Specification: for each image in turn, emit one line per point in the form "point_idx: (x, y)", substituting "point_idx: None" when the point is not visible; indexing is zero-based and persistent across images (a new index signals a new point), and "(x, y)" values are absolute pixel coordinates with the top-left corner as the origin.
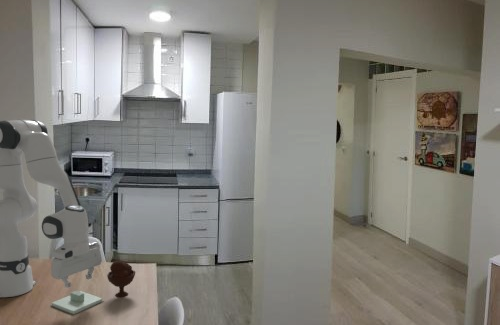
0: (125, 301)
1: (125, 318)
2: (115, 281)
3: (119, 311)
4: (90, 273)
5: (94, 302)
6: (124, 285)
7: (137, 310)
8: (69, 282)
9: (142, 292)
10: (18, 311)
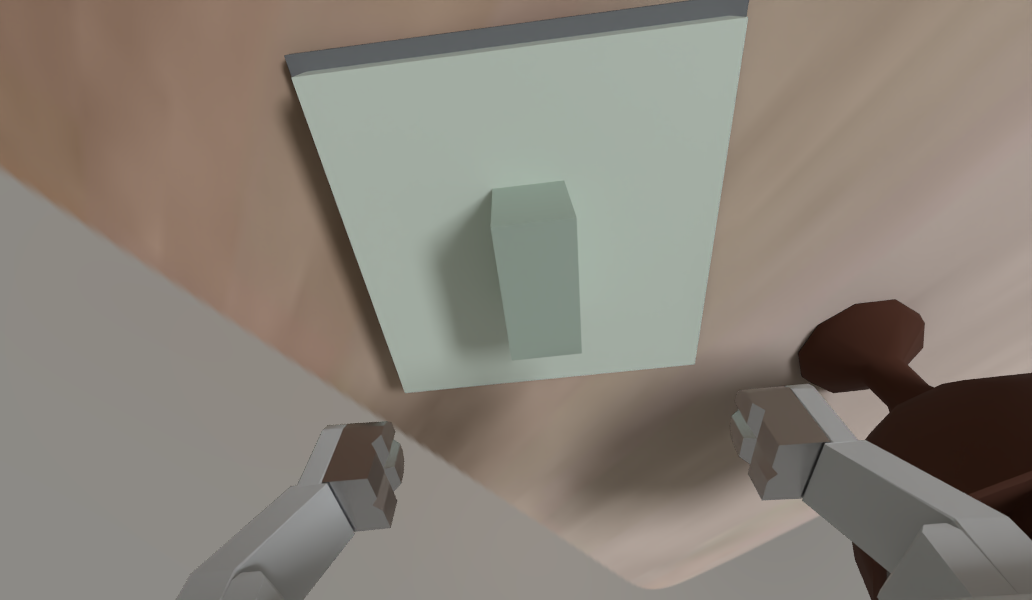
0: None
1: (594, 540)
2: (854, 543)
3: (636, 485)
4: (825, 510)
5: (608, 369)
6: None
7: (696, 523)
8: (368, 527)
9: None
10: None
